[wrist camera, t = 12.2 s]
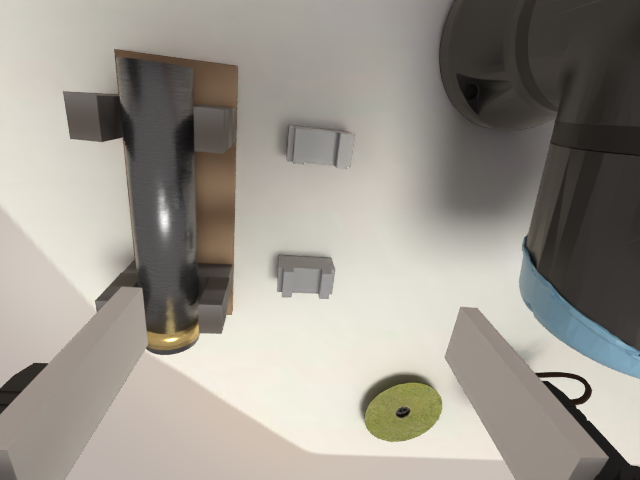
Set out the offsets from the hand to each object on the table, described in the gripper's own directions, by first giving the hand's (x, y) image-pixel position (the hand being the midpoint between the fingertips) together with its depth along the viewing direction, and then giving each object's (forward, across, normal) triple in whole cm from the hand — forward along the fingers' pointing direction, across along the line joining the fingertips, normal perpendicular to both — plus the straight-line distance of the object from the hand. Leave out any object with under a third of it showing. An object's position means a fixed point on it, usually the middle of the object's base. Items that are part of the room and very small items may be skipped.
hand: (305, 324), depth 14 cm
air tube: (+19, -12, -2) cm, 22 cm away
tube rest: (+23, +1, -2) cm, 23 cm away
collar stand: (+22, -12, -2) cm, 25 cm away
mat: (+24, +17, -30) cm, 42 cm away
